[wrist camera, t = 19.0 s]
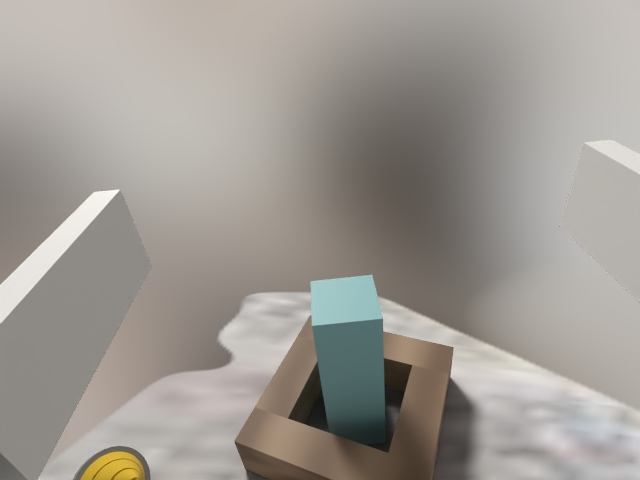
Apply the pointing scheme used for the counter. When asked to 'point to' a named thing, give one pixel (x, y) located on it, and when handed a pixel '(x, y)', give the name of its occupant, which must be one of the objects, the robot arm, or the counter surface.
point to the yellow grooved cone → (114, 465)
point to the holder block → (337, 452)
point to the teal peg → (350, 356)
